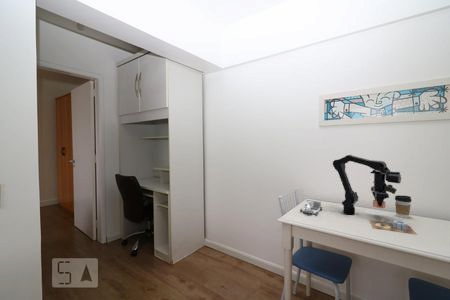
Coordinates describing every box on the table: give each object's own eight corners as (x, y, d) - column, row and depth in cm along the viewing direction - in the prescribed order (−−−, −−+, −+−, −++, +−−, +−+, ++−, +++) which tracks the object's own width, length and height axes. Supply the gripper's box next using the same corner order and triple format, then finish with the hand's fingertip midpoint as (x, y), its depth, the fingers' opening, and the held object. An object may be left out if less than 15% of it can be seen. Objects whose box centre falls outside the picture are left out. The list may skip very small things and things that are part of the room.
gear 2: (398, 230, 118) (398, 224, 118) (390, 225, 124) (390, 220, 124) (409, 230, 117) (410, 224, 117) (401, 225, 124) (401, 220, 123)
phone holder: (315, 203, 143) (298, 200, 150) (315, 217, 143) (298, 214, 150) (322, 197, 157) (306, 195, 164) (322, 210, 157) (306, 207, 164)
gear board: (372, 230, 121) (372, 221, 121) (368, 222, 133) (368, 214, 132) (417, 237, 112) (418, 227, 112) (409, 228, 124) (409, 219, 124)
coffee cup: (412, 222, 133) (413, 198, 132) (395, 219, 137) (395, 197, 136) (409, 217, 140) (410, 195, 139) (393, 215, 144) (393, 193, 143)
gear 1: (374, 207, 133) (374, 202, 133) (372, 204, 139) (372, 199, 138) (386, 208, 130) (386, 203, 130) (383, 205, 136) (383, 200, 136)
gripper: (400, 185, 122) (399, 211, 123) (391, 179, 138) (390, 202, 139) (376, 183, 127) (376, 208, 127) (370, 178, 143) (370, 200, 144)
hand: (378, 205), depth 134 cm, fingers closed on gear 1, 6 cm apart
